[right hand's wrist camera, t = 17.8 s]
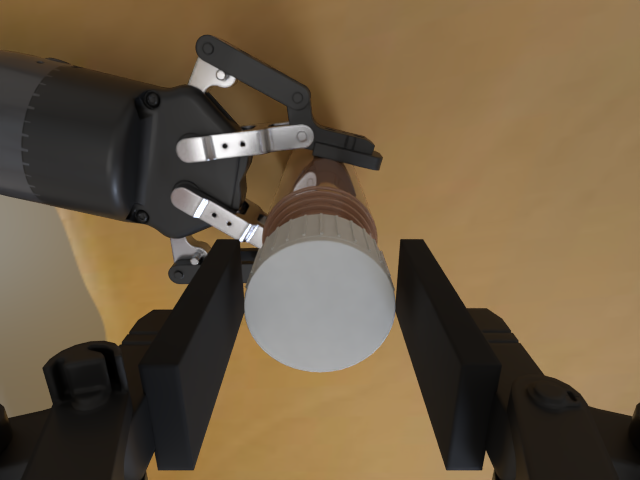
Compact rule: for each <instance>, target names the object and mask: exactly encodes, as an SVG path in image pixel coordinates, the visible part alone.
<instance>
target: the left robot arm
mask: <svg viewBox="0 0 640 480" xmlns="http://www.w3.org/2000/svg"><path fill="white" fill-rule="evenodd" d="M196 52H197V55H198V59H197V61H196V64H195V66H194V69H193V72H192V74H191V77H190V79H189V82H188V85H179V86H177V87H173V88H164V87H159V86H155V85H151V84H147V83H143V82H139V81H135V80H131V79H127V78H123V77H118V76H114V75H110V74H106V73H102V72H98V71H94V70H90V69H86V68H82V67H78V66H73V65H71V64H69V63H67V62H64V61H61V60H58V59H54V58H41V57H36V56H32V55H28V54H23V53H18V52H11V51H3V50H0V194H1V195H5V196H9V197H14V198H18V199H23V200H28V201H32V202H37V203H42V204H46V205H50V206H55V207H60V208H64V209H69V210H74V211H78V212H83V213H88V214H92V215H97V216H101V217H106V218H111V219H115V220H120V221H124V222H131V223H140V224H146V225H149V226H151V227H153V228H155V229H156V230H158V231H159V232H160V233H162V234H163V235H165V236H166V237H169V238H170V240H171V246H172V252H173V259H174V264H173V265H172V267H171V268H170V269H169V272H168V275H169V278H170V279H171V280H172V281H173V282H174V283H177V284H189V283H190V281H191V280H192V278H193V277H194V275H195V274H196V272H197V270H198V269H199V267H200V266H201V264H202V262H203V261H204V259H205V258H206V256H207V254H208V253H209V251H210V250H211V247H210V246H209V245H208V244H207V243H205V242H201V241H197V240H195V239H194V238H193V237H192V236H191V235H192V234H194V233H197V232H199V231H202V230H204V229H207V228H209V227H211V226H213V227H215V228H217V229H219V230H220V231H222V232H224V233H226V234H227V235H229V236H231V237H233V238H234V239H240V241H241V242H248V243H250V244H252V245H254V246H256V247H257V248H240V251H241V265H242V278H243V283H247V281H248V278H249V275H250V272H251V269H252V266H253V263H254V261H255V258H256V255H257V252H258V249H259V248H260V249H261V247H262V233H263V228H264V224H265V221H266V218H267V216H268V214H266V213H265V212H263V211H262V209H261V208H260V207H259V206H258V205H256V204H255V203H253V202H251V201H250V200H248V199H246V198H245V197H246V191H247V183H246V173H247V171H248V169H249V167H250V164H251V162H252V157H253V155H260V154H266V153H269V152H274V151H283V150H292V149H301V148H304V149H308V150H312V151H313V152H312V155H313V156H317V157H321V158H326V159H331V160H334V161H338V162H342V163H346V164H351V165H355V166H359V167H363V168H368V169H372V170H379V169H380V165H381V162H382V158H383V157H382V156H381V154H380V153H378V152H376V151H373V150H374V146H375V145H374V144H373V143H372V142H371V141H370V140H368V139H367V138H366V137H364V136H361V135H357V134H353V133H349V132H345V131H341V130H337V129H332V128H328V127H324V126H321V125H319V124H318V123H317V122H316V121H315V120H314V118H313V115H312V108H311V100H310V98H311V93H310V90H309V89H308V88H307V87H306V86H305V85H303V84H301V83H300V82H298V81H296V80H294V79H292V78H291V77H289V76H287V75H285V74H283V73H282V72H280V71H278V70H276V69H275V68H273V67H271V66H269V65H267V64H266V63H264V62H262V61H260V60H258V59H257V58H255V57H253V56H251V55H249V54H248V53H246V52H244V51H242V50H240V49H239V48H237V47H235V46H233V45H231V44H230V43H228V42H226V41H224V40H222V39H219V38H217V37H214V36H211V35H203V36H201V37H200V38H199V39H198V40H197V42H196ZM238 80H240V81H241V82H243V83H245V84H247V85H249V86H251V87H253V88H254V89H256V90H258V91H260V92H262V93H264V94H265V95H267V96H269V97H271V98H273V99H275V100H276V101H278V102H280V103H282V104H284V105H286V106H287V111H288V118H289V121H287V122H278V123H261V124H252V125H243V126H239V125H238V124H237V123H236V122H235V121H234V120H233V119H232V117H231V116H230V115H229V114H228V113H227V112H226V111H225V110H224V109H223V107H222V106H221V105H220V104H219V103H218V102H217V101H216V100H215V99H214V98H213V96H212V95H211V94H210V93H209V90H210V89H211V88H212V87H214V86H220V87H223V88H227V87H232V86H234V85H235V84H236V83H237V82H238ZM240 207H241V208H240ZM230 222H231V223H230Z"/></svg>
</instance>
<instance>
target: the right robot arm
mask: <svg viewBox="0 0 640 480" xmlns="http://www.w3.org/2000/svg"><path fill="white" fill-rule="evenodd" d="M395 308H396V309H395V311H396V315H397V318H398V321H399V324H400V327H401V330H402V333H403V336H404V339H405V343H406V346H407V349H408V352H409V355H410V358H411V361H412V364H413V368H414V371H415V374H416V377H417V380H418V383H419V386H420V389H421V393H422V396H423V399H424V402H425V405H426V408H427V411H428V414H429V418H430V421H431V424H432V427H433V430H434V433H435V436H436V439H437V443H438V446H439V449H440V452H441V455H442V458H443V461H444V464H445V468H446V470H482V467H483V462H484V457H485V451H487V453H488V456H489V458H490V460H491V462H492V465H493V467H494V473H493V478H492V480H640V403H639V404H637V405H636V408H635V411H634V414H633V416H628V415H624V414H619V413H614V412H610V411H605V410H601V409H597V408H593V407H590V406H588V404H587V403H586V401H585V400H584V398H583V397H582V396H581V394H580V393H578V392H577V391H576V390H575V389H573V388H572V387H571V386H570V385H568V384H566V383H564V382H562V381H560V380H557V379H555V378H552V377H548V376H545V375H544V374H543V373H542V371H541V370H540V369H539V367H538V366H537V365H536V363H535V362H534V361H533V359H532V358H531V357H530V355H529V354H528V353H527V351H526V350H525V349H524V347H523V346H522V345H521V343H519V342H518V339H517V338H516V337H515V335H514V334H513V333H511V330H510V329H509V327H508V326H507V325H506V323H505V322H504V321H503V319H502V318H500V317H499V316H497V315H496V314H494V313H493V312H491V311H490V310H488V309H487V308H466V307H465V305H464V304H463V302H462V301H461V299H460V297H459V296H458V294H457V293H456V291H455V289H454V288H453V286H452V285H451V283H450V281H449V280H448V278H447V277H446V275H445V273H444V272H443V270H442V269H441V267H440V266H439V264H438V262H437V261H436V259H435V258H434V256H433V254H432V253H431V251H430V250H429V248H428V246H427V245H426V243H425V242H424V240H423V239H400V251H399V265H398V278H397V291H396V305H395ZM243 315H244V291H243V278H242V265H241V251H240V239H217V240H216V242H215V243H214V245H213V246H212V248H211V250H210V251H209V253H208V254H207V256H206V258H205V259H204V261H203V262H202V264H201V266H200V267H199V269H198V270H197V272H196V274H195V275H194V277H193V278H192V280H191V281H190V283H189V285H188V286H187V288H186V289H185V291H184V293H183V294H182V296H181V297H180V299H179V301H178V302H177V304H176V305H175V307H174V308H173V310H152V311H151V312H149V313H148V314H146V315H145V316H143V317H142V318H141V319H139V320H138V321H137V322H136V324H135V325H134V326H133V328H132V329H131V330H130V332H129V334H127V336H126V337H125V339H124V340H123V341H122V345H119V346H117V345H116V344H115V343H112V342H107V341H90V342H86V343H82V344H78V345H74V346H72V347H70V348H67V349H65V350H63V351H61V352H59V353H58V354H56V355H55V356H54V357H52V358H51V359H49V361H48V362H47V363H46V364H45V365H44V367H43V372H44V375H45V379H46V382H47V385H48V389H49V392H50V395H51V399H52V402H53V405H52V408H50V409H46V410H43V411H38V412H34V413H29V414H25V415H20V416H16V417H11V418H8V417H7V414H6V411H5V408H4V407H3V406H2V405H1V404H0V480H148V478H147V473H146V469H147V467H148V465H149V462H150V460H151V458H152V456H153V453H154V451H155V457H156V462H157V467H158V470H194V468H195V464H196V461H197V458H198V455H199V452H200V449H201V446H202V443H203V439H204V436H205V433H206V430H207V427H208V424H209V421H210V418H211V414H212V411H213V408H214V405H215V402H216V399H217V396H218V393H219V389H220V386H221V383H222V380H223V377H224V374H225V371H226V368H227V364H228V361H229V358H230V355H231V352H232V349H233V346H234V343H235V340H236V336H237V333H238V330H239V327H240V324H241V321H242V318H243Z"/></svg>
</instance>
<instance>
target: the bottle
mask: <svg viewBox="0 0 640 480" xmlns="http://www.w3.org/2000/svg"><path fill="white" fill-rule="evenodd" d="M312 152H313V151H312V150H308V149H304V148H301V149H294V150H293V152H292V153H291V155H290V157H289V159H288V162H287V165H286V167H285V170H284V173H283V175H282V178H281V181H280V183H279V186H278V189H277V192H276V194H275V197H274V200H273V202H272V205H271V208H270V210H269V213H268V216H267V218H266V221H265V224H264V228H263V233H262V246H263V244H264V242H265V239H266V237H267V236H268V237H269V236H270V235H271V234H272V233H273V232H274V231H275V230H276V228H277V227H278V226H279V227H280V226H282V225H283V224H285V223H287V222H289V220H290V219H292V220H293V219H296V218H298V217H302V216H304V215H314V214H320V213H323V214H327V215H333V216H336V215H338V217H341V218H344V219H347V220H349V221H350V220H351V221H353V223H355V224H356V225H358V226H360V227H361V228H362V229H363V228H364V229H365V230H366V232H367V233H368V234H369V235H370V236H371V238H372V239H375V241H376V243H377V230H376V226H375V223H374V220H373V217H372V214H371V212H370V209H369V206H368V204H367V201H366V198H365V195H364V193H363V190H362V187H361V185H360V182H359V179H358V177H357V174H356V171H355V169H354V166H353V165H351V164H346V163H342V162H338V161H334V160H331V159H326V158H321V157H317V156H313V155H312Z"/></svg>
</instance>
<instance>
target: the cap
mask: <svg viewBox="0 0 640 480" xmlns="http://www.w3.org/2000/svg"><path fill="white" fill-rule="evenodd" d="M390 276H391V275H390V273H389V270H388V267H387V264H386V261H385V258H384V256H383V253H382V251H380V250H379V248H378V246H377V243H376V241H375V239H372V238H371V236H370V235H369V234H368V233H367V232H366V230H365V229H364V228H363V229H362V228H361V227H360V226H358V225H356V224H355V223H353V221H351V220H350V221H349V220H347V219H344V218H341V217H338V215H336V216H333V215H327V214H323V213H320V214H314V215H304V216H302V217H298V218H296V219H293V220H292V219H290V220H289V222H287V223H285V224H283V225H282V226H280V227H279V226H278V227H277V228H276V230H275V231H274V232H273V233H272V234H271V235H270V236H269V237H268V236H267V237H266V239H265V242H264V244H263V246H262V247H261V249H260V248H259V249H258V252H257V255H256V258H255V261H254V263H253V266H252V269H251V272H250V275H249V278H248V281H247V283H246V287H245V288H247V289H246V293H245V299H244V313H245V319H246V322H247V325H248V328H249V330H250V332H251V334H252V336H253V338H254V339H255V341H256V342H257V344H258V345H259V346H260V347H261V348H262V349H263V350H264V351H265V352H266V353H267V354H268V355H270V356H271V357H273V358H274V359H275V360H277V361H279V362H281V363H283V364H285V365H287V366H290V367H292V368H295V369H299V370H303V371H310V372H330V371H336V370H341V369H344V368H348V367H350V366H352V365H355V364H357V363H359V362H361V361H362V360H364V359H366V358H367V357H368V356H370V355H371V354H372V353H373V352H375V351H376V350H377V349H378V348H379V346H380V345H381V344H382V343H383V342H384V340H385V339H386V337H387V335H388V334H389V331H390V329H391V327H392V324H393V321H394V317H395V309H396V308H395V295H394V291H395V289H394V286H393V283H392V280H391V277H390Z"/></svg>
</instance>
